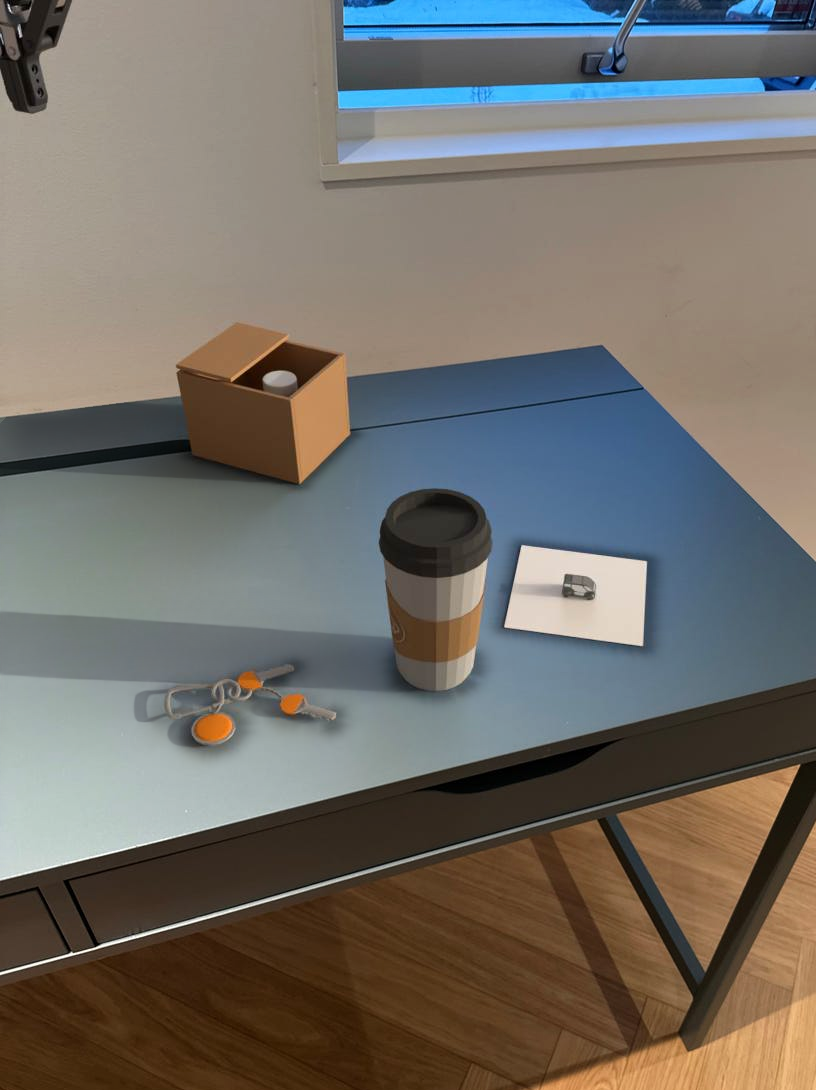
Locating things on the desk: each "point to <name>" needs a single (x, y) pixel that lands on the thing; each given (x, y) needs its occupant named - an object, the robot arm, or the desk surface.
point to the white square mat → (578, 595)
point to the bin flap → (232, 352)
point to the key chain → (222, 725)
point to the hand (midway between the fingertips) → (31, 110)
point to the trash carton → (270, 413)
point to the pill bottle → (280, 383)
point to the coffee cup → (435, 583)
